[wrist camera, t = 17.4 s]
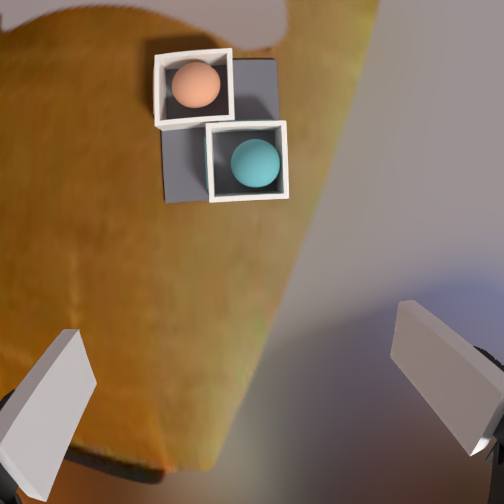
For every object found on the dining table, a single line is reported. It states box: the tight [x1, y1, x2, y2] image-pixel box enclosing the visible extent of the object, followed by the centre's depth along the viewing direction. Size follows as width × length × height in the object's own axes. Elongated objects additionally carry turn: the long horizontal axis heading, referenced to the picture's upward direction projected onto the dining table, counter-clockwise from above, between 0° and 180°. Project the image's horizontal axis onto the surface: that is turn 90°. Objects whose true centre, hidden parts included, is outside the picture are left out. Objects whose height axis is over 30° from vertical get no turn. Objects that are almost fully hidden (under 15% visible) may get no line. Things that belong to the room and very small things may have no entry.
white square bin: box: [204, 119, 289, 202], centre depth 32 cm, size 8×8×4 cm
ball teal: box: [231, 139, 280, 188], centre depth 31 cm, size 5×5×5 cm
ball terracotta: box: [172, 62, 220, 108], centre depth 29 cm, size 5×5×5 cm
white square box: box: [153, 48, 235, 131], centre depth 29 cm, size 8×8×4 cm
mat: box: [162, 60, 280, 203], centre depth 33 cm, size 16×13×1 cm
